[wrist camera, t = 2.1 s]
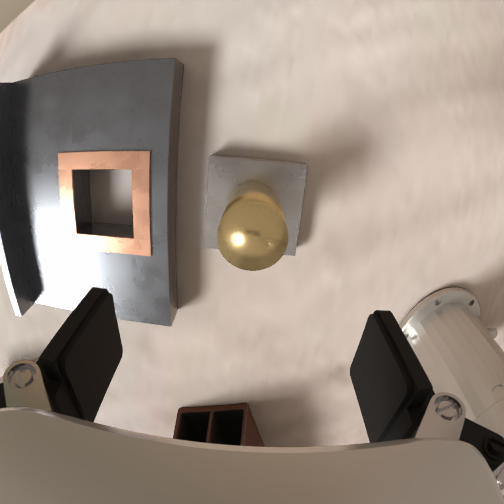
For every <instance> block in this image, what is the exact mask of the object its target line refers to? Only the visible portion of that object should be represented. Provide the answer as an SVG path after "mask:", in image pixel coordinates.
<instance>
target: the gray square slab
mask: <svg viewBox="0 0 504 504" xmlns="http://www.w3.org/2000/svg"><path fill="white" fill-rule="evenodd" d="M307 167H308V166H307V165H306V164H305V163H297V162H288V161H279V160H269V159H259V158H247V157H235V156H220V155H211V156H210V157H209V165H208V183H207V203H206V227H205V248H212V249H219V247H218V244H217V230H218V227H219V224H220V221H221V218H222V216H223V213H224V210H225V207H226V205H227V202H228V199H229V197H230V195H231V193H232V192H233V191H234V190H235V189H236V188H237V187H238V186H240V185H242V184H244V183H247V182H261V183H264V184H266V185H268V186H270V187H271V188H272V189H273V190H274V191H275V192H276V193H277V195H278V197H279V199H280V202H281V206H282V210H283V214H284V218H285V222H286V226H287V230H288V245H287V248H286V251H285V253H284V254H283V255H292V256H295V253H296V246H297V240H298V233H299V226H300V219H301V212H302V205H303V198H304V190H305V183H306V175H307Z"/></svg>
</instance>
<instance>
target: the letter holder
mask: <svg viewBox="0 0 504 504" xmlns="http://www.w3.org/2000/svg"><path fill="white" fill-rule="evenodd" d="M173 439H179V440H186V441H194V442H202V443H211V444H222V445H235V446H253V447H264V445H263V442H262V440H261V437H260V434H259V432H258V430H257V427H256V425H255V422H254V420H253V417H252V415H251V412H250V409H249V406H248V405H247V403H242V404H232V405H220V406H206V407H187V408H179V410H178V413H177V419H176V425H175V430H174V436H173Z"/></svg>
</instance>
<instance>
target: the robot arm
mask: <svg viewBox="0 0 504 504" xmlns="http://www.w3.org/2000/svg"><path fill="white" fill-rule="evenodd" d="M496 336H497V330H496V329H495V328H488V329H487V328H486V327H485V326H484V324H483V323H482V322H481V321H480V306H479V303H478V301H477V299H476V298H475V297H474V296H473V295H472V294H471V293H470V292H469V291H467V290H466V289H462V288H456V287H452V288H446V289H443V290H440V291H437V292H435V293H433V294H431V295H429V296H427V297H426V298H425V299H423V300H422V301H421V302H419V303H418V304H417V305H416V306H415V307H414V308H413V309H412V310H411V311H410V312H409V313H408V314H407V316H406V317H405V318H404V320H403V321H402V323H401V324H400V326H399V324H398V323H397V321H396V319H395V317H394V316H393V314H392V313H391V311H381V310H376V311H375V312H374V313H373V314H370V315H369V317H368V320H367V323H366V326H365V329H364V332H363V335H362V337H361V340H360V343H359V346H358V348H357V351H356V354H355V357H354V359H353V362H352V364H351V367H350V376H351V379H352V383H353V386H354V389H355V393H356V396H357V399H358V403H359V406H360V409H361V413H362V416H363V420H364V423H365V427H366V430H367V434H368V437H369V441H370V443H364V444H352V445H340V446H322V447H253V446H235V445H222V444H211V443H202V442H194V441H186V440H179V439H172V438H165V437H159V436H153V435H148V434H143V433H138V432H133V431H128V430H123V429H119V428H115V427H110V426H106V425H102V424H98V423H94V419H95V417H96V415H97V412H98V410H99V407H100V405H101V403H102V400H103V398H104V396H105V393H106V391H107V389H108V387H109V384H110V382H111V380H112V378H113V375H114V373H115V371H116V369H117V367H118V364H119V362H120V360H121V358H122V353H123V349H122V344H121V339H120V334H119V329H118V323H117V318H116V312H115V306H114V300H113V295H112V294H111V293H109V291H108V289H105V288H98V287H92V288H91V289H90V290H89V291H88V293H87V294H86V295H85V296H84V298H83V299H82V300H81V301H80V303H79V304H78V305H77V307H76V308H75V309H74V310H73V312H72V313H71V314H70V316H69V317H68V318H67V320H66V321H65V322H64V324H63V325H62V326H61V328H60V329H59V330H58V332H57V333H56V334H55V336H54V337H53V339H52V340H51V341H50V343H49V344H48V346H47V347H46V348H45V350H44V351H43V353H42V354H41V356H40V357H39V360H38V361H37V362H36V363H35V362H32V361H30V360H21V361H17V362H15V363H13V364H11V365H10V366H9V367H8V368H7V369H6V370H5V373H4V375H3V383H0V504H504V352H503V350H502V349H501V348H500V346H499V345H498V344H497V343H496V341H495V340H494V339H493V338H495V337H496Z"/></svg>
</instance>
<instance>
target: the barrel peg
mask: <svg viewBox="0 0 504 504" xmlns="http://www.w3.org/2000/svg"><path fill="white" fill-rule="evenodd" d="M217 244H218V247H219V250H220V252H221V254H222V255H223V257H224V258H225V259H226V260H227V261H228V262H229V263H231V264H232V265H234V266H236V267H238V268H240V269H244V270H249V271H256V270H262V269H265V268H268V267H270V266H272V265H273V264H275V263H276V262H277V261H278V260H279V259H280V258H281V257H282V256H283V254H284V253H285V251H286V248H287V245H288V230H287V226H286V222H285V218H284V214H283V210H282V206H281V202H280V199H279V197H278V195H277V193H276V192H275V191H274V190H273V189H272V188H271V187H270V186H268V185H266V184H264V183H261V182H247V183H244V184H242V185H240V186H238V187H237V188H236V189H235V190H234V191H233V192H232V193H231V195H230V197H229V199H228V202H227V205H226V207H225V210H224V213H223V216H222V218H221V221H220V224H219V227H218V230H217Z"/></svg>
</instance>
